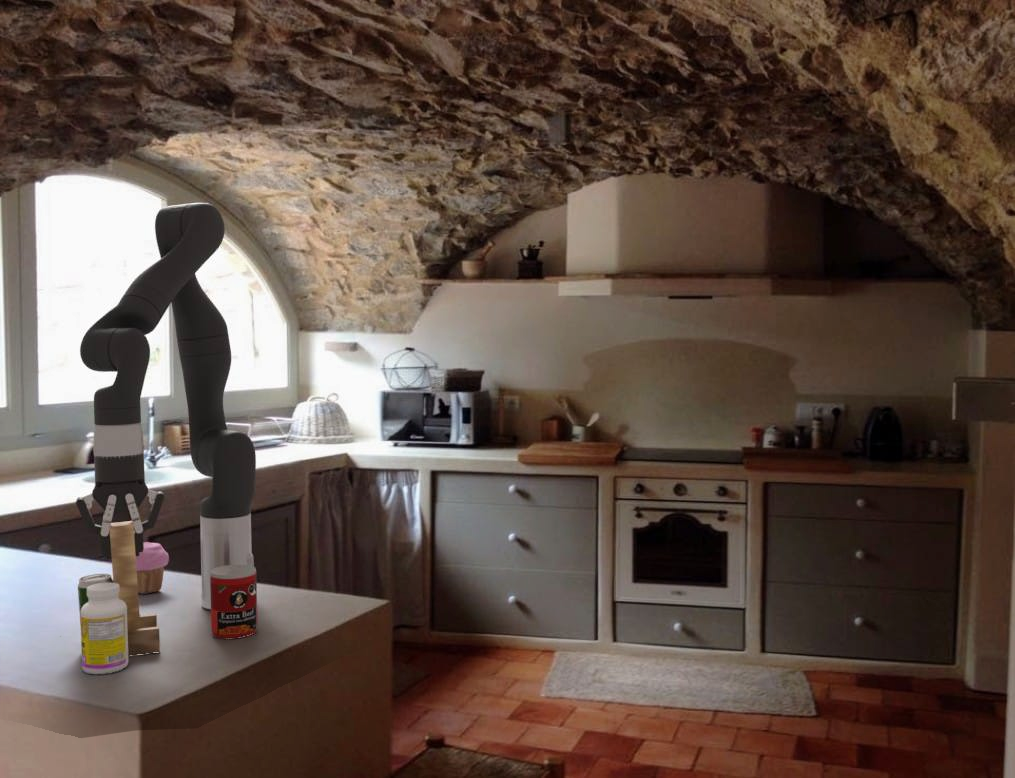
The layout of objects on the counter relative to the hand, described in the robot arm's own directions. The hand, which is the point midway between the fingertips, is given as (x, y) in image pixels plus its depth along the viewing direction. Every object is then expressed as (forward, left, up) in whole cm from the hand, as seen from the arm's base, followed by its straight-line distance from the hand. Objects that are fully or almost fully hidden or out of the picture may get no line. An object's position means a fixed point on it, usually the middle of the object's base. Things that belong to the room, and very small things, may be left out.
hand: (122, 556), depth 162 cm
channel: (0, 0, -15) cm, 15 cm away
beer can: (+4, 0, -15) cm, 16 cm away
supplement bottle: (+3, +9, -15) cm, 18 cm away
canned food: (-18, -2, -15) cm, 24 cm away
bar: (-1, 0, -14) cm, 14 cm away
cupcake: (-5, -37, -15) cm, 40 cm away
